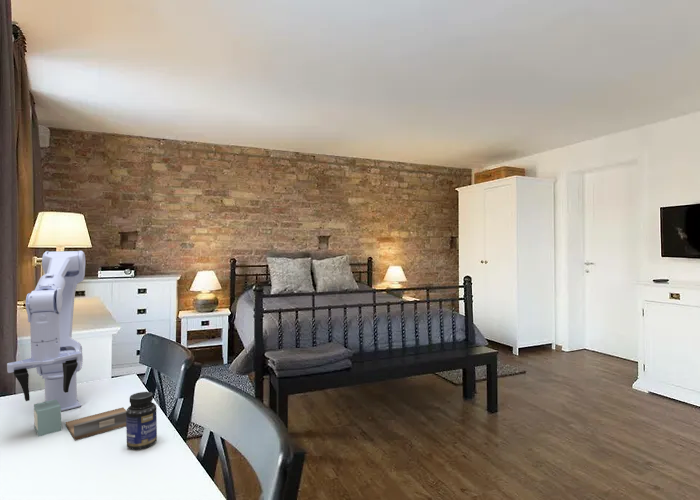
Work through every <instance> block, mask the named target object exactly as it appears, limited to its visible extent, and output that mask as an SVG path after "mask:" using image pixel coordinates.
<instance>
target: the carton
mask: <svg viewBox="0 0 700 500" xmlns="http://www.w3.org/2000/svg"><path fill="white" fill-rule="evenodd" d="M33 423H34V424H33V425H34V430H35V432H36V434H37V437H43V436H45V435H49V434H53V433H57V432H60V431H62V411H61V406H60V404H59V403H58V401H57V400H56V399H55V400H51V401H46V402H45V401H44V402H43V401H42V402H37V403H33Z"/></svg>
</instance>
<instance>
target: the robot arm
mask: <svg viewBox="0 0 700 500" xmlns="http://www.w3.org/2000/svg"><path fill="white" fill-rule="evenodd" d="M41 265H42V270H43V273H44V274H43V275H42V276H40V277H39V279H38V281H37V284H36V286H35V288H34V290H31V292H29V293H27V294H26V298H25V309H26V314H27V322H28V323H29V325H30V326H29V328H30V357H29V358H26V359H20V360H17V361H12V362H8V363H6V370H7V373H8V374H11V373H13V375H14V376H15V378H16V380H17V381H18V383H19V385H20V387H21V389H22V392H23V396H24V400H25V402H28V401H30V399H31V398H30V397H31V396H30V391H29V390H30V388H29V380H30V378H29V376H30V375H29V372H28V370H31V369H35V368H36V369H35V370H36V373H37V374H38V375H39V376H40V377H42V378H41V379H42V380H44V402H46V401H51V400H55V399H56V400H57V401H58V403H59V404H60V406H61V412H64V411H68V410H72V409H77V408H79V407H82V404H81V402H80V401H79V400H78V393H77V392H78V391H77V390H78V389H77V373H78V372H80V371H81V370H82V369H83V368H82V367H83V363H84V362H83V360H84V359H83V347H82V344H81V343H80V341H77V340H76V339H73V338H72V335H73V334H72V333H73V322H74V321H73V320H74V309H75V308H74V307H75V294H76V289H77V286H78V284H80V283H81V282H83V281H84V279H85V275H86V254H85V252H84V251H83V250H75V251H73V250H71V251H69V250H67V251H66V250H64V251H62V250H60V251H59V250H58V251H49V250H46V251H45V252H44V253H43V254H42V257H41Z"/></svg>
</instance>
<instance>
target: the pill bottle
mask: <svg viewBox="0 0 700 500" xmlns="http://www.w3.org/2000/svg"><path fill="white" fill-rule="evenodd" d="M153 399H154V393H153V392H150V391H140V392H136V393H133V394H131V395H130V396H129V404H130V406H128V408H127V409H126V426H125V427H126V429H125V430H126V433H125V434H126V447H127V448H128V449H130V450H136V451H137V450H138V451H140V450H144V449H148V448H150V447H152V446H154V445H155V444H156V443H157V440H158V439H157V438H158V425H157V424H158V423H157V420H158V419H157V405H156V404H155V403H154V402H153Z"/></svg>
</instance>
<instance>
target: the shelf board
mask: <svg viewBox="0 0 700 500" xmlns="http://www.w3.org/2000/svg"><path fill="white" fill-rule="evenodd" d="M126 411H127V409H126V408H124V407H118V408H115V409H112V410H108V411H104V412H99V413H97V414H96V413H95V414H92V415H88V416H84V417H79V418H76V419H73V420H68V421H65V427H66V428H67V430H68V432H69V433H70V435H71V436H72V437H73V439H74V441H78V440H82V439H86V438H89V437H91V436H95V435H96V436H97V435H100V434H102V433H106V432H109V431H113V430H117V429H120V428H124V427H126Z"/></svg>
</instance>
